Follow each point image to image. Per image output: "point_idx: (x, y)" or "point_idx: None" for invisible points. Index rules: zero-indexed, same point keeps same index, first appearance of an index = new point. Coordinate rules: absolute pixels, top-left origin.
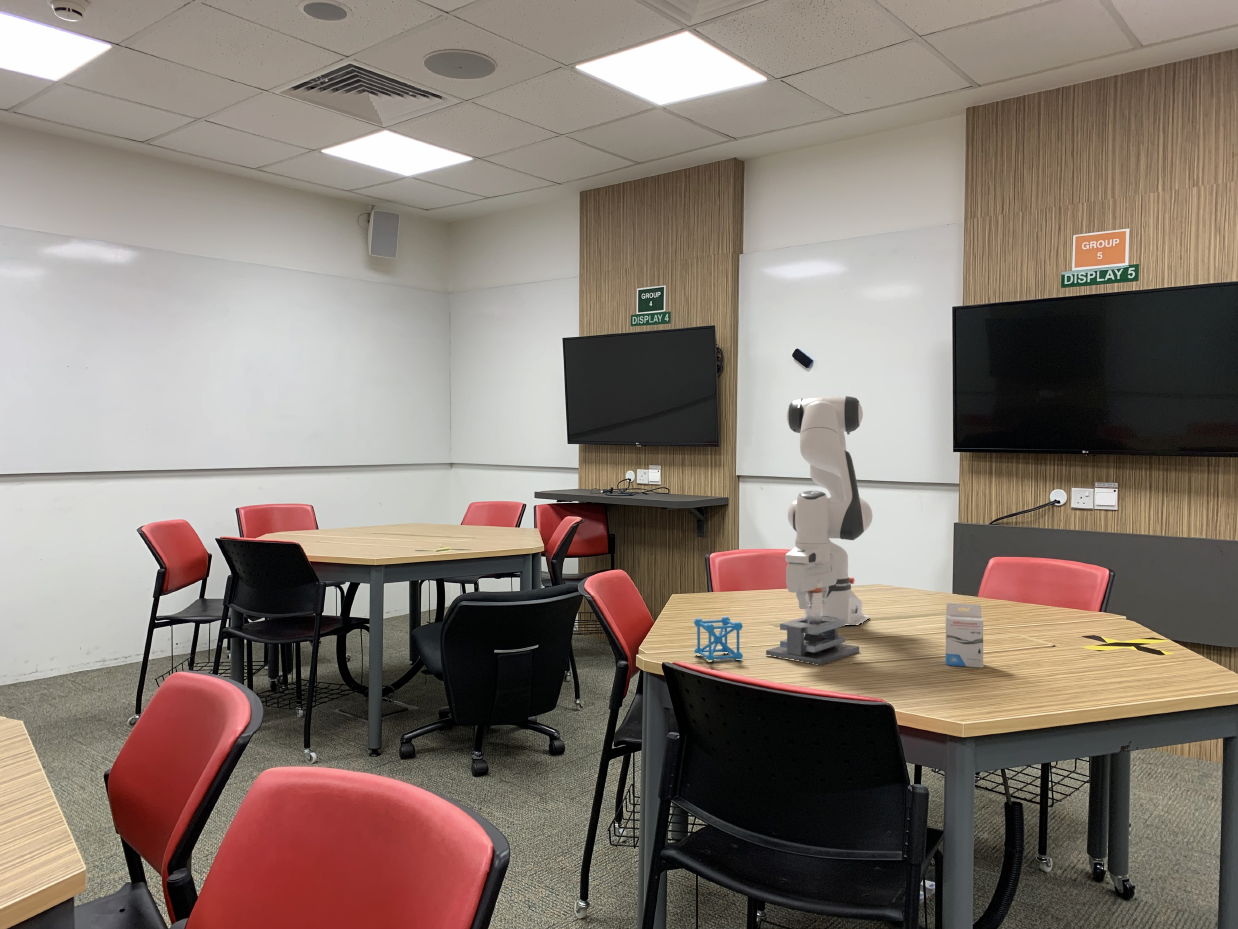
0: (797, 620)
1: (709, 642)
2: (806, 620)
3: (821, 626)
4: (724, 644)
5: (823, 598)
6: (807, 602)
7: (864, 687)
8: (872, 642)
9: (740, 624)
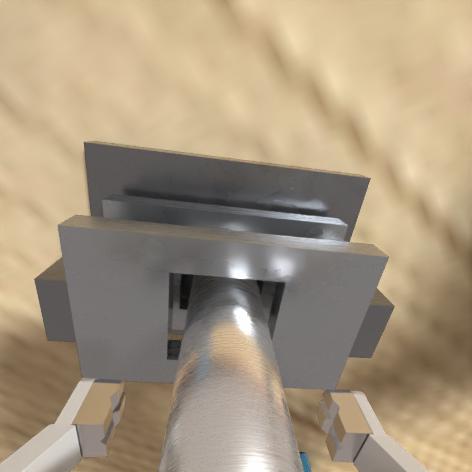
0: (208, 259)
1: None
2: (187, 316)
3: (143, 381)
4: None
5: (331, 454)
6: (102, 450)
7: (17, 426)
8: (444, 317)
9: None
